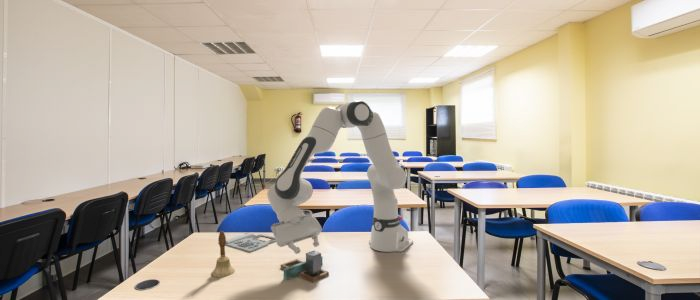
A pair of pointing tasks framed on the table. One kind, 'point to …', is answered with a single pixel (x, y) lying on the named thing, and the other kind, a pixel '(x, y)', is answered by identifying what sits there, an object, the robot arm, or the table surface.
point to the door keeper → (300, 270)
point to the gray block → (313, 263)
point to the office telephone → (249, 242)
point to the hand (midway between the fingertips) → (308, 249)
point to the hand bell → (222, 260)
